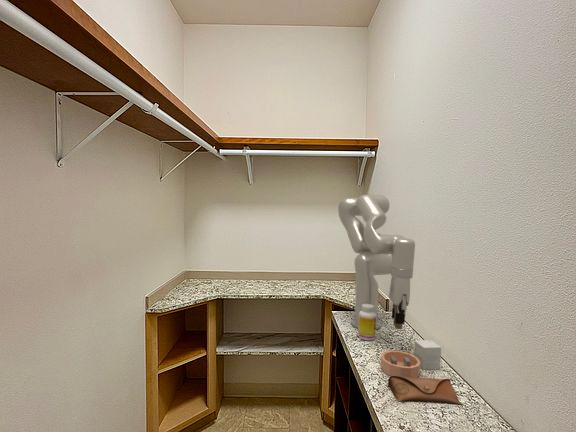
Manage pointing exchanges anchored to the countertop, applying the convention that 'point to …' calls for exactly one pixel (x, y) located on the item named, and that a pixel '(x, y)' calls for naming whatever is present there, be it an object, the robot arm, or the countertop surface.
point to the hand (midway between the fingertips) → (397, 320)
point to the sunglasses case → (422, 390)
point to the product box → (427, 354)
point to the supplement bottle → (367, 323)
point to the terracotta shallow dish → (400, 364)
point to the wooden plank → (397, 326)
